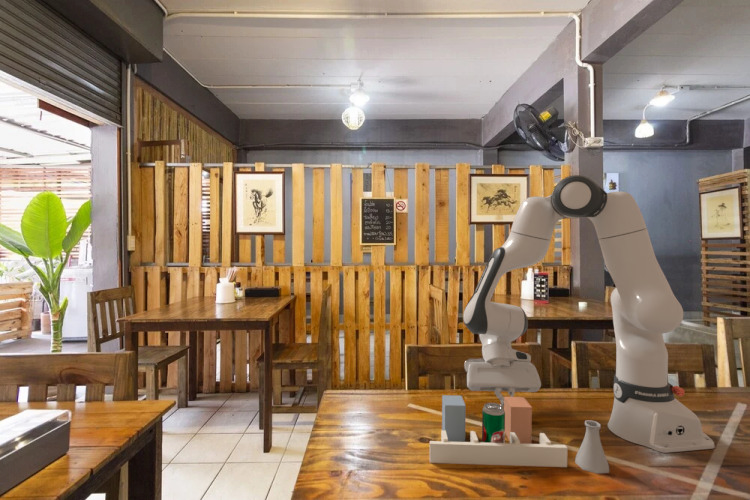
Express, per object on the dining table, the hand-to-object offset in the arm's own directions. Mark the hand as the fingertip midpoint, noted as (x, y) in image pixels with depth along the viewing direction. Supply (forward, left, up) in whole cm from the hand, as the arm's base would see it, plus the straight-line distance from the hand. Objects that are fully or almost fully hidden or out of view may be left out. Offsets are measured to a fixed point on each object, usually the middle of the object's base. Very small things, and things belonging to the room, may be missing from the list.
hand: (507, 405), depth 106 cm
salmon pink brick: (0, +8, -4) cm, 9 cm away
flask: (-13, +19, -5) cm, 24 cm away
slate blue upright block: (+16, +8, -4) cm, 19 cm away
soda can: (+8, +17, -5) cm, 19 cm away
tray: (+8, +13, -5) cm, 16 cm away
